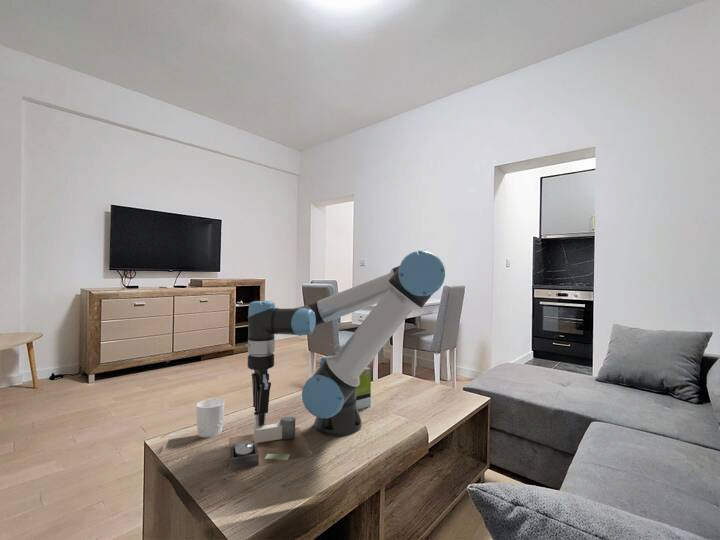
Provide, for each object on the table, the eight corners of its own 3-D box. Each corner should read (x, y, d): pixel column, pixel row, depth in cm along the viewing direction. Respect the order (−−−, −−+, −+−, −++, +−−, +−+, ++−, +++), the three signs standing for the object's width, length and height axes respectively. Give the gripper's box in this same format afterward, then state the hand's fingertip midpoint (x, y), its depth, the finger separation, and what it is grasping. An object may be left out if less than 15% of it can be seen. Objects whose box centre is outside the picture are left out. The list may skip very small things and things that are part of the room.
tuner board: (298, 430, 107) (299, 418, 107) (312, 460, 90) (312, 445, 90) (229, 441, 100) (229, 428, 100) (229, 475, 82) (229, 460, 82)
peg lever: (293, 431, 103) (293, 415, 103) (296, 438, 99) (296, 421, 99) (253, 437, 98) (253, 421, 99) (254, 444, 94) (254, 427, 94)
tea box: (328, 400, 134) (329, 362, 135) (349, 395, 140) (350, 359, 141) (349, 412, 122) (349, 371, 122) (371, 406, 128) (371, 367, 128)
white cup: (213, 443, 99) (214, 408, 99) (189, 440, 100) (190, 406, 100) (229, 431, 106) (229, 399, 107) (206, 429, 108) (207, 397, 108)
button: (252, 450, 90) (252, 439, 90) (253, 459, 86) (253, 447, 86) (234, 453, 88) (235, 442, 88) (235, 462, 84) (235, 450, 84)
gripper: (243, 351, 103) (242, 429, 103) (253, 359, 92) (252, 447, 91) (267, 348, 107) (267, 424, 106) (280, 356, 96) (279, 441, 95)
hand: (260, 434), depth 99 cm, fingers closed
